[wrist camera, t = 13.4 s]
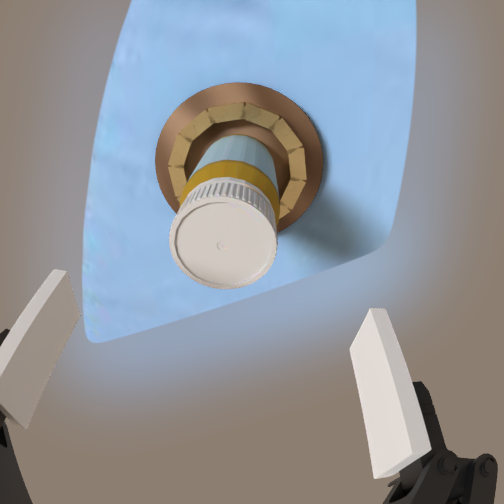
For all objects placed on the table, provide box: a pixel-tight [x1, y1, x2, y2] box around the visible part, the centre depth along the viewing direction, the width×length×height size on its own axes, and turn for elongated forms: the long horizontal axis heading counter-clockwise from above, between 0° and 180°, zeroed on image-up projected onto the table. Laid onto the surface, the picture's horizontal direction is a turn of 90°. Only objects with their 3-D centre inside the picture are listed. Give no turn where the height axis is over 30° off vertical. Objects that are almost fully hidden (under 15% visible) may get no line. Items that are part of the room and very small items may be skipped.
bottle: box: [169, 134, 280, 289], centre depth 24 cm, size 7×7×15 cm
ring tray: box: [155, 82, 323, 233], centre depth 30 cm, size 17×17×2 cm
